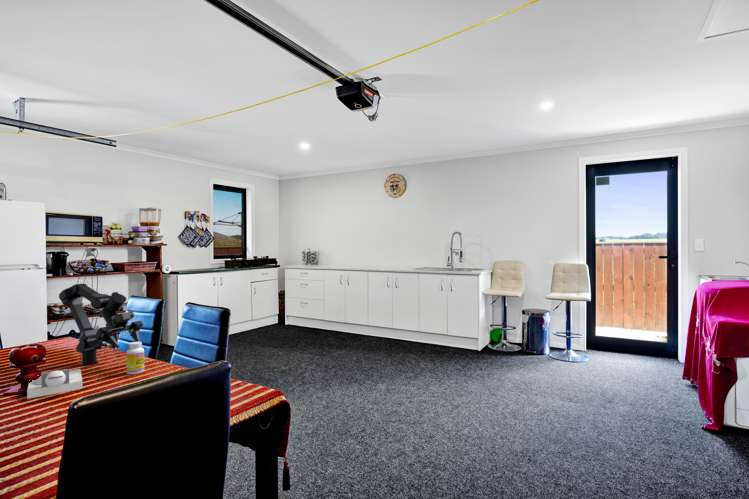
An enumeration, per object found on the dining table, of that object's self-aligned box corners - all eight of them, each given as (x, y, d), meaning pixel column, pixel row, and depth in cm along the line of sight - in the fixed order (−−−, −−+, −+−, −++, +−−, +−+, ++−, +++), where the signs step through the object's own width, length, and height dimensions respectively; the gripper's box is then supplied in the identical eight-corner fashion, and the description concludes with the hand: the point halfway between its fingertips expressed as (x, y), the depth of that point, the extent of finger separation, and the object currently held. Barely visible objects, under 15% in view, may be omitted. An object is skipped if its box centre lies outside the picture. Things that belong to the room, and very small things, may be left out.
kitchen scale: (30, 384, 160) (30, 363, 160) (80, 375, 170) (80, 355, 170) (27, 399, 143) (26, 375, 143) (82, 389, 153) (82, 367, 153)
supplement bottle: (136, 375, 169) (135, 344, 169) (123, 374, 171) (122, 344, 171) (148, 370, 176) (147, 341, 176) (135, 369, 177) (134, 340, 177)
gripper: (98, 309, 169) (114, 337, 164) (140, 303, 186) (156, 328, 181) (87, 326, 173) (103, 354, 168) (129, 319, 189) (145, 344, 185)
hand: (128, 344), depth 175 cm, fingers open, 9 cm apart
